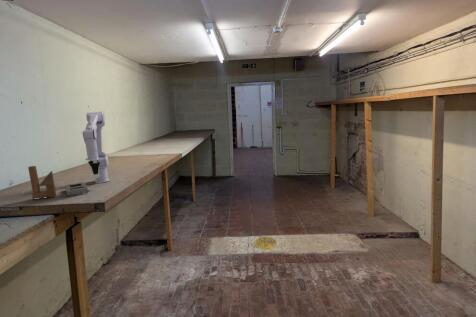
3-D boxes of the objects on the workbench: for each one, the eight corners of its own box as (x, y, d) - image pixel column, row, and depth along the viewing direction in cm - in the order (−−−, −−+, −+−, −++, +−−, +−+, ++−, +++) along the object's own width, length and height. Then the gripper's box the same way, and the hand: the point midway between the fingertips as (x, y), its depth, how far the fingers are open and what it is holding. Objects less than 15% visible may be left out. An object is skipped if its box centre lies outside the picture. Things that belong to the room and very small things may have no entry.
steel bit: (91, 177, 196) (89, 165, 194) (98, 175, 198) (97, 164, 196) (92, 178, 192) (90, 166, 191) (100, 177, 194) (98, 165, 193)
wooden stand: (55, 197, 183) (49, 165, 179) (32, 200, 180) (26, 167, 176) (56, 195, 186) (51, 163, 183) (34, 198, 183) (28, 166, 180)
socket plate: (66, 190, 196) (65, 185, 195) (84, 186, 200) (83, 182, 200) (68, 196, 182) (67, 191, 181) (88, 193, 187) (87, 188, 186)
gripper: (82, 149, 196) (86, 172, 199) (86, 153, 184) (89, 177, 186) (95, 148, 199) (99, 170, 202) (99, 151, 187) (103, 174, 190)
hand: (95, 173), depth 194 cm, fingers closed on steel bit, 4 cm apart
